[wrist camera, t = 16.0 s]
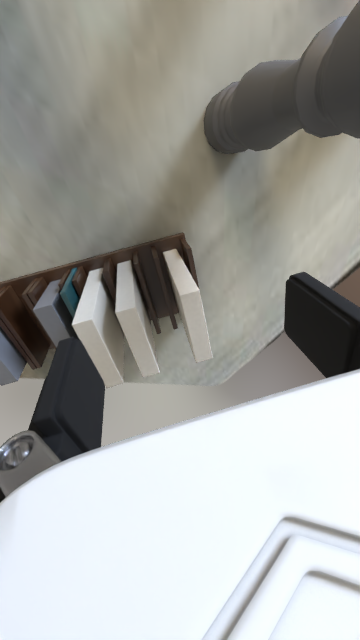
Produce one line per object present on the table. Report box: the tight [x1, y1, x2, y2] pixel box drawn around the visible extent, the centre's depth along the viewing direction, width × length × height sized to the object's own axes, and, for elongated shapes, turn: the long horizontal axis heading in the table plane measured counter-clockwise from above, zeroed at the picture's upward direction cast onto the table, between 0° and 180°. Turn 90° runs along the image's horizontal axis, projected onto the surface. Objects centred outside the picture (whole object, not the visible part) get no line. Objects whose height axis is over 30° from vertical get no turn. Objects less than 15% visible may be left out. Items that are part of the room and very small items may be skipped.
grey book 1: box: [0, 327, 27, 385], centre depth 34 cm, size 2×9×8 cm, turn 13°
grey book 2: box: [33, 279, 79, 348], centre depth 35 cm, size 2×9×8 cm, turn 13°
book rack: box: [0, 233, 199, 369], centre depth 35 cm, size 30×12×9 cm, turn 103°
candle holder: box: [204, 0, 360, 154], centre depth 20 cm, size 6×6×25 cm
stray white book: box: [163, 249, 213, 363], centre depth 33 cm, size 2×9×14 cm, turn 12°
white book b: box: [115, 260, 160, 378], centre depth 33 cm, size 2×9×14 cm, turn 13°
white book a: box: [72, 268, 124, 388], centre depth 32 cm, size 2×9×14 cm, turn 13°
